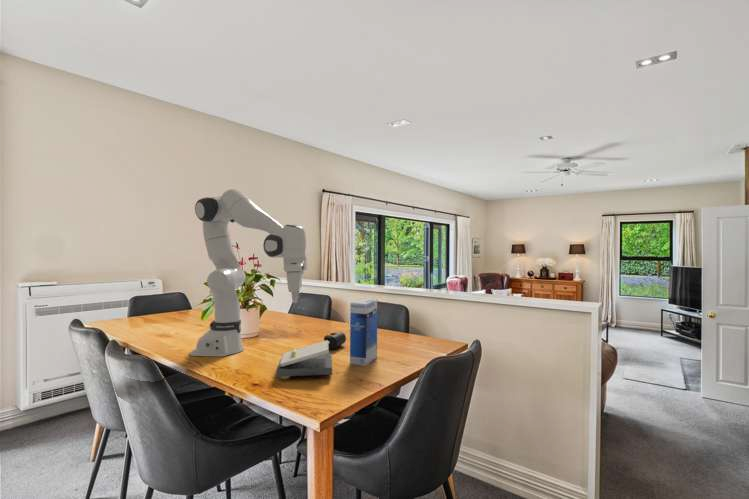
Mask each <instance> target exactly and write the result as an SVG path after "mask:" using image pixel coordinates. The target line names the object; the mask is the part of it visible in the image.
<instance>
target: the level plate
mask: <svg viewBox="0 0 749 499" xmlns="http://www.w3.org/2000/svg"><path fill="white" fill-rule="evenodd" d="M323 354H330V350H329V341H328V340H327V341H325V340H323V341H320V342H316V343H313V344H310V345H307V346H303V347H301V348H296V347H295V348H293V349H292V350H290V351H289V350H288V351H287V352H283V353H282V354H281V358H280V359H281V360H279V362H278V364H279V365H277V367H283V366H286V365H289V364H293V363H296V362H299V361H303V360H306V359H309V358H313V357H316V356H320V355H323Z"/></svg>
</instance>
